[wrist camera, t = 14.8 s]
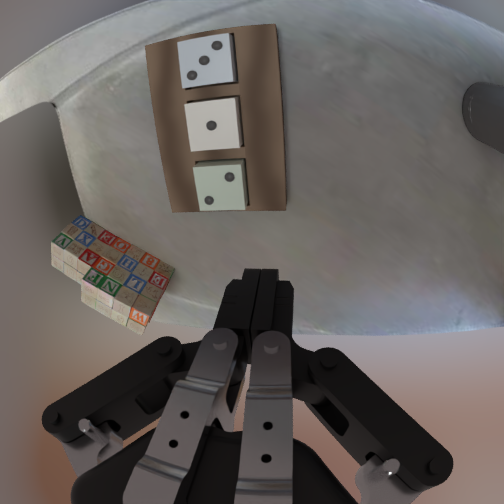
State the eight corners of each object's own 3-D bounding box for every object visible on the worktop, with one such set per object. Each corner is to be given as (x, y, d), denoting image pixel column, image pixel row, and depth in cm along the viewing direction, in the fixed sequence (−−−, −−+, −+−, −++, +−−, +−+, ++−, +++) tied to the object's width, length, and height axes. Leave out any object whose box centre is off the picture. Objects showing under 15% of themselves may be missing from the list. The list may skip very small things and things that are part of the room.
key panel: (276, 28, 26) (275, 23, 24) (286, 201, 40) (285, 210, 37) (155, 47, 29) (144, 45, 26) (179, 203, 42) (172, 212, 40)
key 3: (234, 36, 26) (228, 32, 24) (238, 81, 30) (232, 81, 27) (186, 44, 27) (176, 42, 25) (191, 87, 31) (181, 88, 28)
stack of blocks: (77, 237, 49) (41, 275, 39) (80, 213, 46) (40, 250, 36) (166, 289, 53) (141, 337, 43) (176, 267, 50) (149, 317, 40)
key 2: (245, 157, 35) (240, 164, 32) (249, 199, 38) (245, 210, 36) (200, 160, 36) (192, 167, 33) (206, 200, 39) (199, 211, 37)
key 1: (239, 96, 31) (234, 98, 28) (244, 142, 34) (239, 148, 31) (193, 101, 32) (183, 104, 29) (198, 145, 35) (190, 152, 32)
